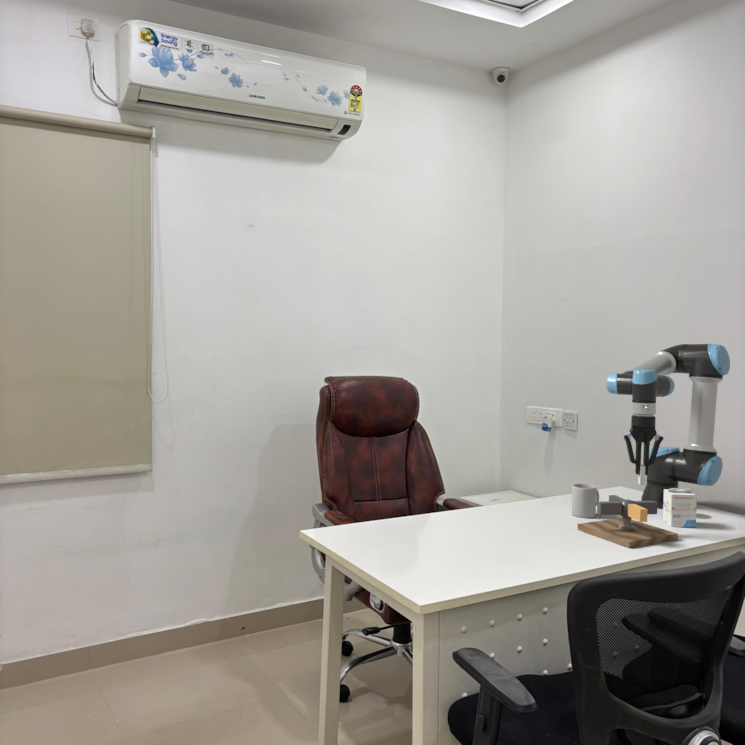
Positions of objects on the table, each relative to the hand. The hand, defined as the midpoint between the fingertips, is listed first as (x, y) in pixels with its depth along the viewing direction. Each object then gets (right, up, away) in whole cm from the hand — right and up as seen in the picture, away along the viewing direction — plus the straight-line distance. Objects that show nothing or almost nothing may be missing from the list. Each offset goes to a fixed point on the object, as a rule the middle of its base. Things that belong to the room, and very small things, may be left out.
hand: (641, 484), depth 216 cm
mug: (-11, -15, +22) cm, 29 cm away
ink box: (+18, -16, +10) cm, 26 cm away
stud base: (-7, -16, -4) cm, 18 cm away
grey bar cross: (-7, -10, -4) cm, 13 cm away
